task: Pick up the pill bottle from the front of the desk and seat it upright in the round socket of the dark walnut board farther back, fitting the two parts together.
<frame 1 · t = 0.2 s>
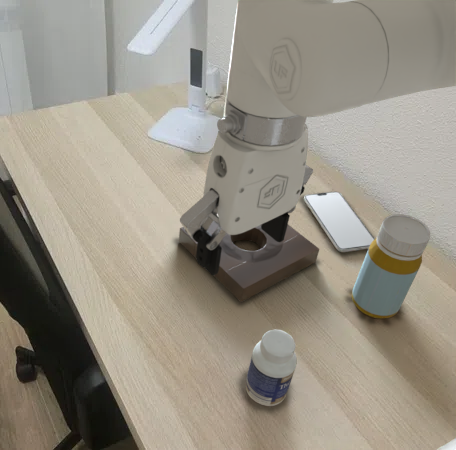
hand: (240, 250, 62), 20 cm above the table, tool pointing down, fingers open, 9 cm apart
socket board: (246, 251, 91), on the table
bottle: (373, 304, 83), on the table
pill bottle: (265, 389, 72), on the table
smartphone: (338, 222, 98), on the table
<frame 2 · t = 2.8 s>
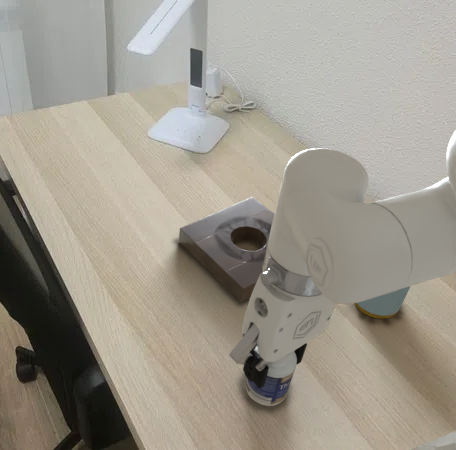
hand: (272, 366, 68), 5 cm above the table, tool pointing down, fingers closed on pill bottle, 5 cm apart
pill bottle: (265, 389, 72), on the table, touching gripper
everything else where it was.
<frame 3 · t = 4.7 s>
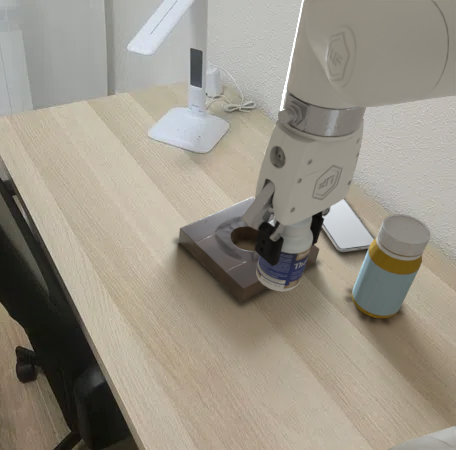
hand: (285, 246, 63), 20 cm above the table, tool pointing down, fingers closed on pill bottle, 5 cm apart
pill bottle: (277, 277, 67), point 15 cm above the table, touching gripper
everything else where it was.
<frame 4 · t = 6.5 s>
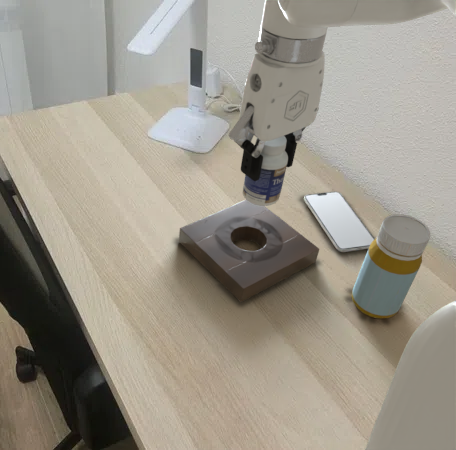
hand: (266, 167, 77), 19 cm above the table, tool pointing down, fingers closed on pill bottle, 5 cm apart
pill bottle: (260, 197, 80), point 14 cm above the table, touching gripper
everything else where it was.
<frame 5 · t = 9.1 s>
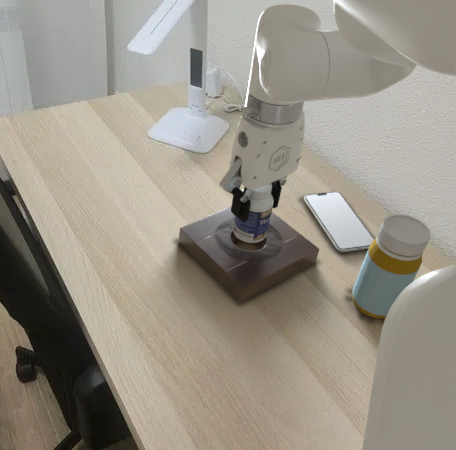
hand: (254, 208, 85), 9 cm above the table, tool pointing down, fingers closed on pill bottle, 5 cm apart
pill bottle: (249, 233, 88), point 4 cm above the table, touching gripper
everything else where it was.
when the fingers open (5 cm above the table, at t = 10.7 s): pill bottle stays where it is, resting in socket board.
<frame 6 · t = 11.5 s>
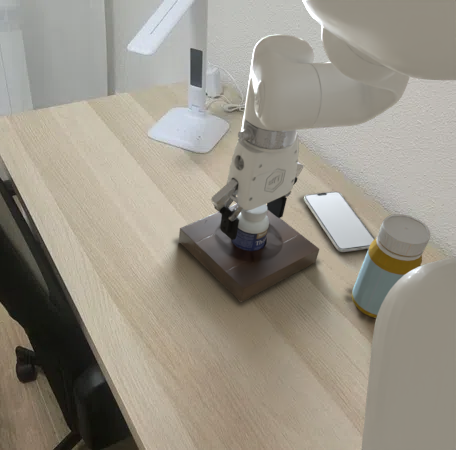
hand: (251, 223, 87), 6 cm above the table, tool pointing down, fingers open, 9 cm apart
pill bottle: (245, 252, 91), resting in socket board
everything else where it was.
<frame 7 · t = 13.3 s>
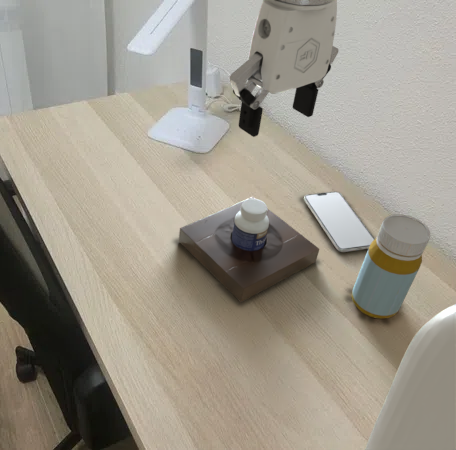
hand: (275, 121, 73), 26 cm above the table, tool pointing down, fingers open, 9 cm apart
nothing on the table moved.
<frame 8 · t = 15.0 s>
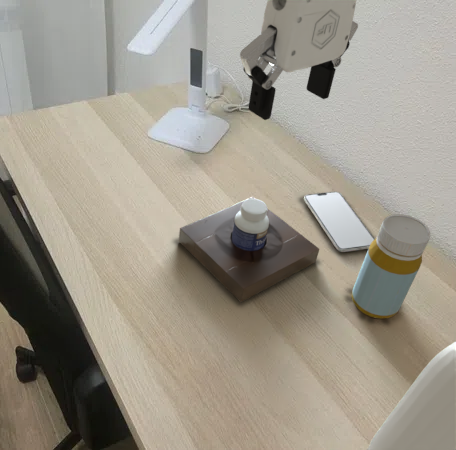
hand: (288, 104, 67), 30 cm above the table, tool pointing down, fingers open, 9 cm apart
nothing on the table moved.
at the end: pill bottle 0.1 cm off-centre in the socket board, point 0.0 cm above the socket board's base; pill bottle tilted 0°; the gripper is holding nothing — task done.
